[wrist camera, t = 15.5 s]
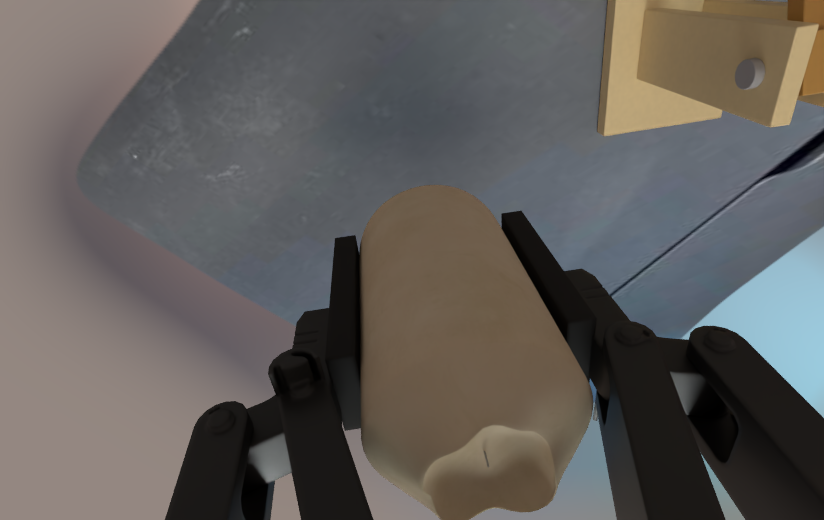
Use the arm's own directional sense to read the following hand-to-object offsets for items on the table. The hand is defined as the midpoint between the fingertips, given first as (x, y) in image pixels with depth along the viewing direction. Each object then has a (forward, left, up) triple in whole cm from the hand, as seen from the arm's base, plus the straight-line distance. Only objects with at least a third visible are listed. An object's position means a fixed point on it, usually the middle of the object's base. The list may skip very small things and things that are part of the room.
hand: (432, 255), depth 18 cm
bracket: (-3, +20, -19) cm, 28 cm away
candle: (0, 0, -1) cm, 1 cm away
